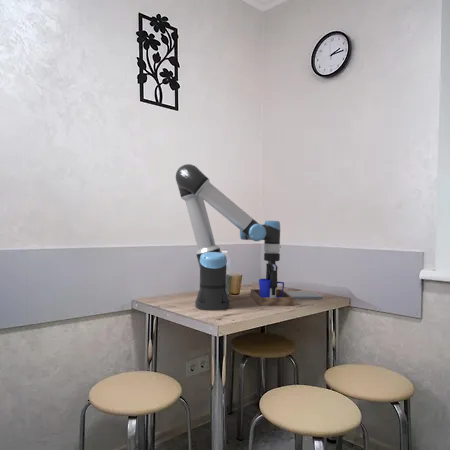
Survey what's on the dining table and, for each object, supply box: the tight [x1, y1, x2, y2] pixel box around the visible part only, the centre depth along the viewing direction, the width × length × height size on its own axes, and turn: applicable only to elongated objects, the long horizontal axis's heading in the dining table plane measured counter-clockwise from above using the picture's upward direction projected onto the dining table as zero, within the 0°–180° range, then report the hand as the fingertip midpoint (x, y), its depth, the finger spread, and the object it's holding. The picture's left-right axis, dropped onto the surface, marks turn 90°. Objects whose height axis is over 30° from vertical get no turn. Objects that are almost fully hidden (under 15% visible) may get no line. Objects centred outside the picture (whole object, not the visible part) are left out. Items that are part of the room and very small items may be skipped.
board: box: [285, 291, 323, 300], centre depth 187 cm, size 18×14×1 cm
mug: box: [258, 278, 285, 298], centre depth 174 cm, size 8×12×10 cm
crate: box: [250, 288, 295, 307], centre depth 174 cm, size 16×23×4 cm
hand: (271, 300), depth 174 cm, fingers open, 7 cm apart
